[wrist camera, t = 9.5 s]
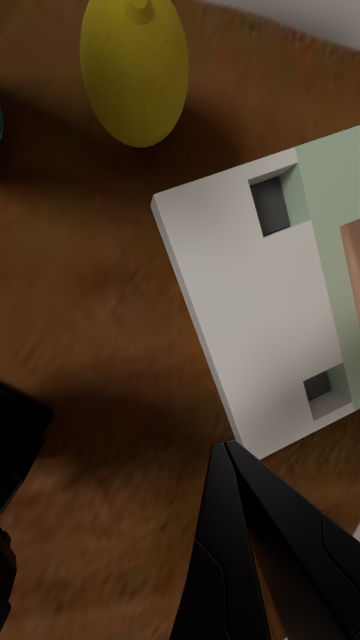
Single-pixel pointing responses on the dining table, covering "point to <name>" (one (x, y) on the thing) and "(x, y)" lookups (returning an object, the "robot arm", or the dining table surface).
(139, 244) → the dining table surface
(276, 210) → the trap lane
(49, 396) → the dining table surface
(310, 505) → the robot arm
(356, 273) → the terracotta block
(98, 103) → the lemon
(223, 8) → the dining table surface
